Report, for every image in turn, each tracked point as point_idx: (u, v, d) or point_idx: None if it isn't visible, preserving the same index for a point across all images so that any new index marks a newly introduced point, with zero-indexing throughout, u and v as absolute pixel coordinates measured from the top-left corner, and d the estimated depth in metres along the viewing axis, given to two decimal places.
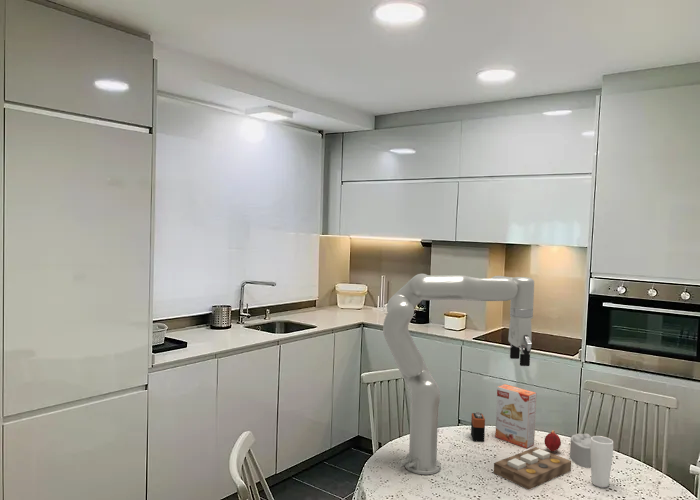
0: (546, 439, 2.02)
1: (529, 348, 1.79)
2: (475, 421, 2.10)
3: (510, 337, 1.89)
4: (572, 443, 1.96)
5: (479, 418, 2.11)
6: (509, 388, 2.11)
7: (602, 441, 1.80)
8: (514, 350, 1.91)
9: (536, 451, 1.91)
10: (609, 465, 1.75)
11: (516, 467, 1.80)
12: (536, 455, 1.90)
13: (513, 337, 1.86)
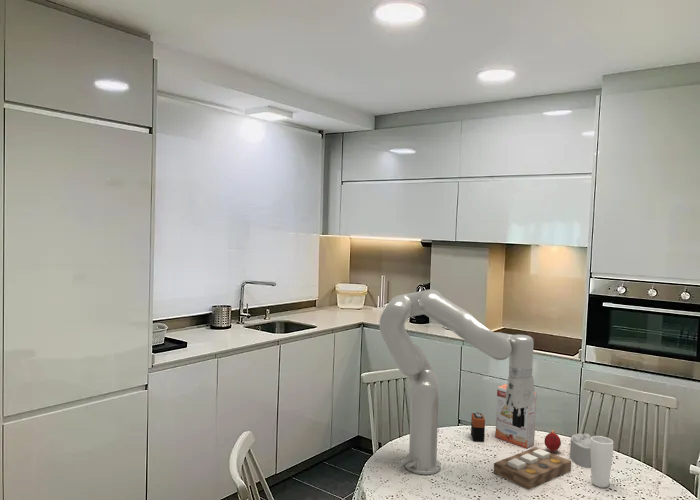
0: (546, 439, 2.02)
1: None
2: (475, 421, 2.10)
3: (522, 402, 1.78)
4: (572, 443, 1.96)
5: (479, 418, 2.11)
6: None
7: (602, 441, 1.80)
8: None
9: (536, 451, 1.91)
10: (609, 465, 1.75)
11: (516, 467, 1.80)
12: (536, 455, 1.90)
13: (527, 398, 1.80)
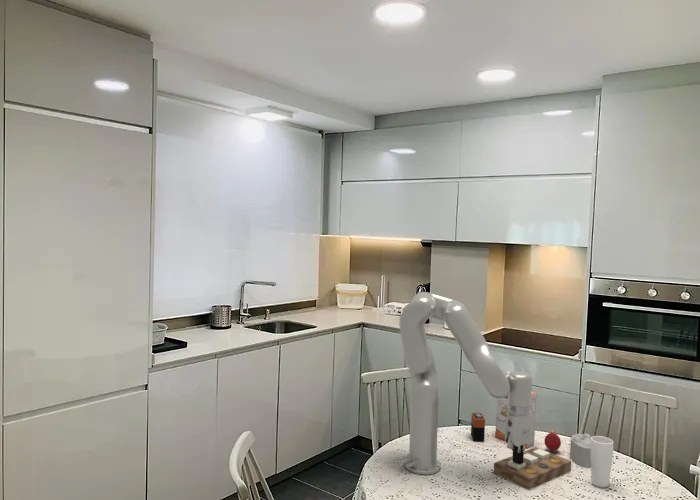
0: (546, 439, 2.02)
1: None
2: (475, 421, 2.10)
3: (521, 439, 1.79)
4: (572, 443, 1.96)
5: (479, 418, 2.11)
6: None
7: (602, 441, 1.80)
8: None
9: (536, 451, 1.91)
10: (609, 465, 1.75)
11: (516, 468, 1.80)
12: (536, 455, 1.90)
13: (526, 435, 1.80)
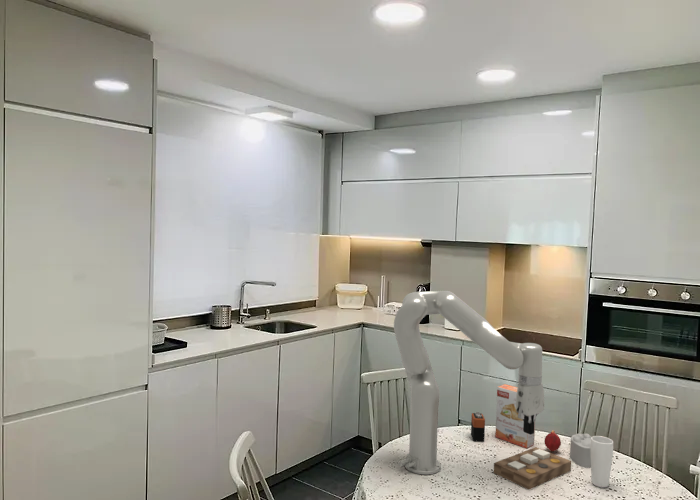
0: (546, 439, 2.02)
1: None
2: (475, 421, 2.10)
3: (532, 409, 1.81)
4: (572, 443, 1.96)
5: (479, 418, 2.11)
6: (509, 388, 2.11)
7: (602, 441, 1.80)
8: None
9: (536, 451, 1.91)
10: (609, 465, 1.75)
11: None
12: (536, 455, 1.90)
13: (537, 405, 1.83)
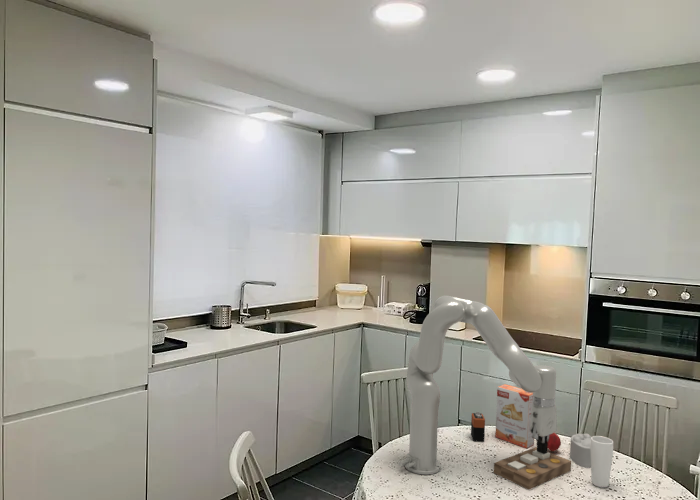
0: None
1: None
2: (475, 421, 2.10)
3: (546, 430, 1.87)
4: (572, 443, 1.96)
5: (479, 418, 2.11)
6: (509, 388, 2.11)
7: (602, 441, 1.80)
8: None
9: (536, 451, 1.91)
10: (609, 465, 1.75)
11: None
12: (536, 455, 1.90)
13: (550, 426, 1.89)
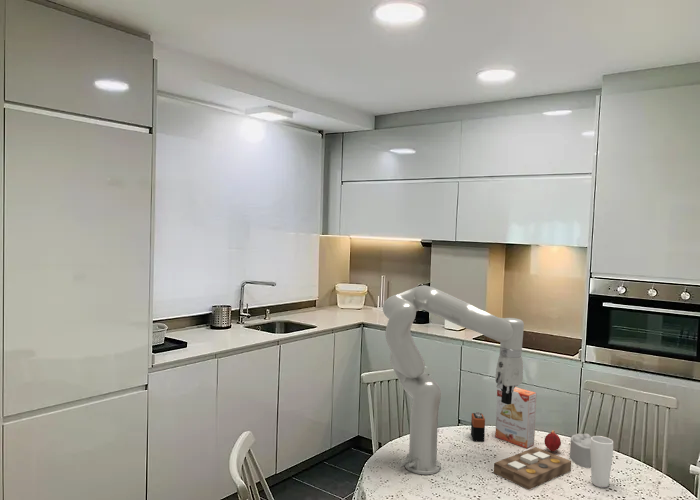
0: (546, 439, 2.02)
1: None
2: (475, 421, 2.10)
3: (510, 380, 1.91)
4: (572, 443, 1.96)
5: (479, 418, 2.11)
6: None
7: (602, 441, 1.80)
8: None
9: (536, 453, 1.91)
10: (609, 465, 1.75)
11: None
12: None
13: (515, 377, 1.92)
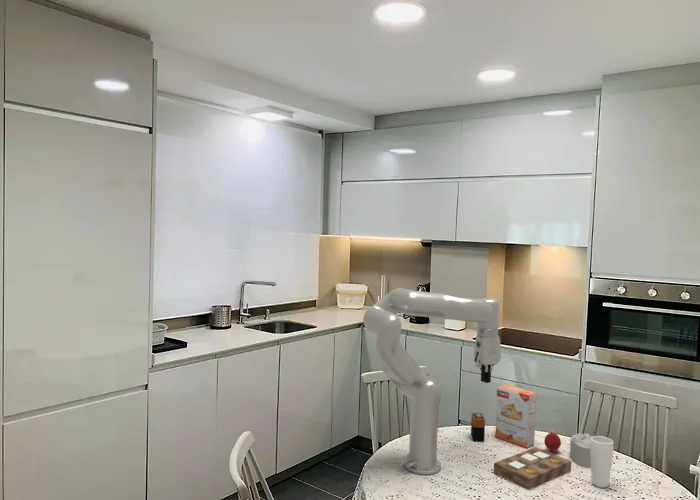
0: (546, 439, 2.02)
1: None
2: (475, 421, 2.10)
3: (489, 359, 1.94)
4: (572, 443, 1.96)
5: (479, 418, 2.11)
6: (509, 388, 2.11)
7: (602, 441, 1.80)
8: None
9: (536, 453, 1.91)
10: (609, 465, 1.75)
11: None
12: None
13: (493, 356, 1.96)
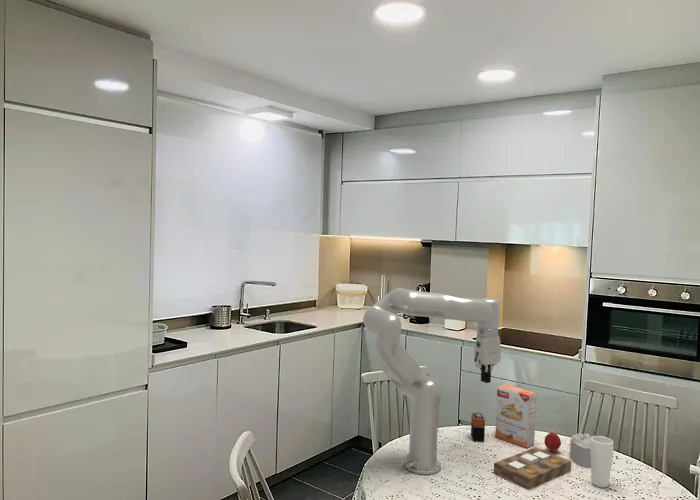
0: (546, 439, 2.02)
1: None
2: (475, 421, 2.10)
3: (489, 359, 1.94)
4: (572, 443, 1.96)
5: (479, 418, 2.11)
6: (509, 388, 2.11)
7: (602, 441, 1.80)
8: None
9: (536, 453, 1.91)
10: (609, 465, 1.75)
11: None
12: None
13: (493, 356, 1.96)
